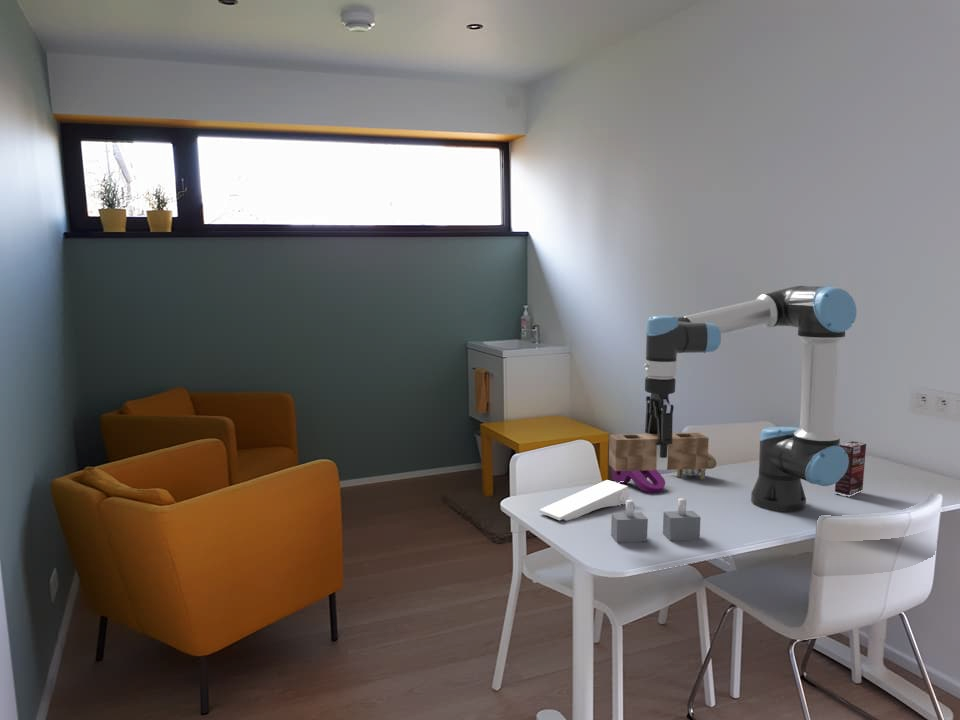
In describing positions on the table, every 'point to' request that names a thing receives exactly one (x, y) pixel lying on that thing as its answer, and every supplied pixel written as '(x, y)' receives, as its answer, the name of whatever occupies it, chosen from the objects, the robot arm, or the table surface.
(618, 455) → the walnut rail
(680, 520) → the peg blocks
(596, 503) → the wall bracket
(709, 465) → the toy sheep
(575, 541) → the table surface
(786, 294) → the robot arm
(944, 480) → the table surface
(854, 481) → the supplement box
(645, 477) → the mounting bracket
